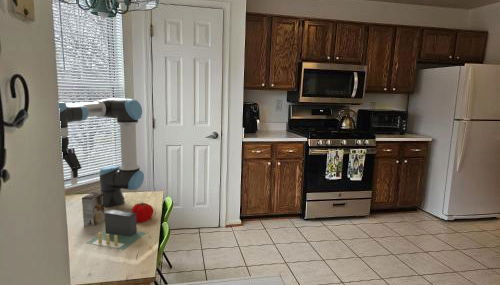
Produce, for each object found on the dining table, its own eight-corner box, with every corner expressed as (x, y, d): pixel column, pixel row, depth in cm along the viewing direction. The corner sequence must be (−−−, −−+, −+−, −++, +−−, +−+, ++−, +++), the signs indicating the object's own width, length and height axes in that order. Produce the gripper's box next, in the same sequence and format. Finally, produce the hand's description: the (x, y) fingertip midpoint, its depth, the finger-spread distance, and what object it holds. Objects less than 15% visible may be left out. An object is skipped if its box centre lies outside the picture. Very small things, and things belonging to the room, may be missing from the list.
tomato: (129, 226, 173) (129, 207, 171) (134, 216, 185) (133, 199, 183) (152, 225, 174) (151, 206, 173) (155, 216, 187) (154, 198, 185)
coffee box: (94, 220, 179) (93, 192, 176) (105, 221, 178) (104, 193, 175) (83, 227, 170) (81, 197, 167) (94, 228, 169) (92, 198, 166)
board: (112, 230, 167) (111, 218, 166) (146, 235, 162) (146, 224, 161) (85, 246, 150) (85, 233, 149) (123, 252, 145) (123, 240, 144)
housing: (112, 228, 166) (111, 209, 164) (136, 232, 162) (136, 212, 161) (105, 232, 161) (104, 213, 160) (130, 236, 158) (129, 216, 156)
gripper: (29, 136, 147) (33, 182, 150) (75, 139, 140) (78, 188, 144) (43, 134, 154) (47, 178, 158) (88, 137, 148) (91, 183, 151)
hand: (62, 182), depth 151 cm, fingers open, 13 cm apart
